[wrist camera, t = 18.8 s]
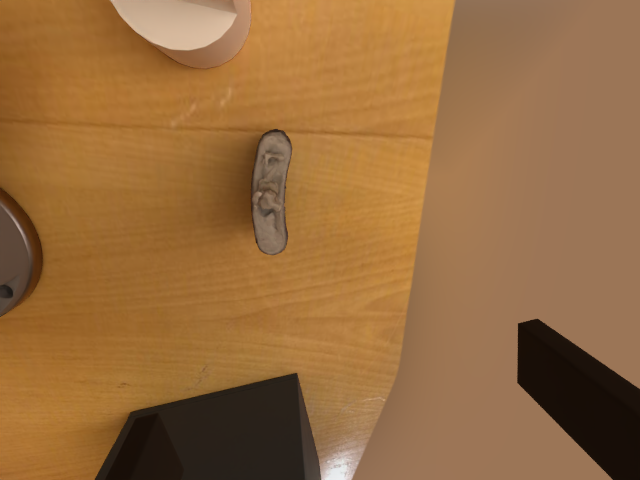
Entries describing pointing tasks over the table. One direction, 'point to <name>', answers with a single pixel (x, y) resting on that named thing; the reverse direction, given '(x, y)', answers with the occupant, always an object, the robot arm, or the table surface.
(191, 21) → the cylinder with rectangular tab
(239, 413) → the box
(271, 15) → the table surface
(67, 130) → the table surface
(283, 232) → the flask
